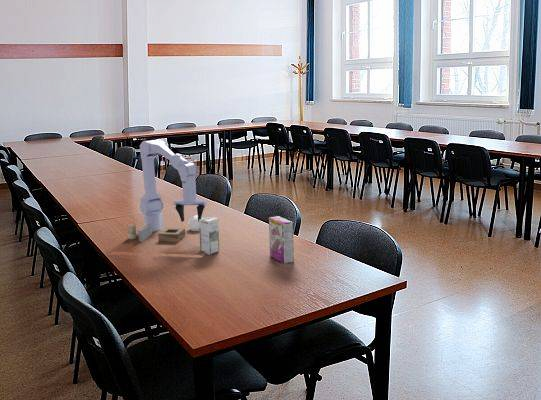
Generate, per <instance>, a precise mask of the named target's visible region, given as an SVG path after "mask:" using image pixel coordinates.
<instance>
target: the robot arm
mask: <svg viewBox="0 0 541 400" xmlns="http://www.w3.org/2000/svg"><path fill="white" fill-rule="evenodd" d="M139 151H140V158H141V165H142V176H143V177H142V178H143V184H144V185H143V186H144V194H143V195H142V196H141V198H140V199H139V200H140V203H139V204H140V205H139V209H140V212H141V213H142V214H143V215H144V223H145V225H144V227H145V226H146V225H148V224H151V228H152V233H153V232H158V231H162V228H163V227H164V217H163V216H164V215H163V214H162V210H163V209H164V202H163V199H162V195H160V194H159V193H158V191H157V184H156V173H155V161H154V160H155V158H156V157H158V156H159V155H161V156H163V157H164V158H165V159H167V160H169V163H170V165H171V166H172V167H173V168H174V169H175V170H177V171H178V174H179V176H180V180H181V184H182V199H175V200H173V202H172V203H173V206H175V210H176V212H177V214H178V215H179V218H180V222H181V223H183V222H184V221H185V214H184V213H185V209H184V208H185V206H196V212H197V215H198V222H199V219H201V217H203V214H204V213H203V212H204V210H205V207H206V206H207V204H208V203H207V200H205V199H204V200H202V199H197V187H196V185H197V183H196V175H197V174H198V172H199V169H198V165H197V164H196V163H195V162H190V161H188V160H187V159H186V158H184V157H183V156H182V154H180V153H174V152H173V151H172V150H171V149H170V148H169V147H168V146H167V145H166V142H165V141H164V140H163V139H161V138H159V139H151V140H143V141H141V143H140V145H139Z"/></svg>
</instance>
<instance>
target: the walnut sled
mask: <svg viewBox="0 0 541 400" xmlns="http://www.w3.org/2000/svg"><path fill="white" fill-rule="evenodd" d="M157 236H158V242H160V243H161V242H162V243H163V242H164V243H179V242H180V241H181V240H183V239H184V238H185V237H186V228H185V227H184V228H183V227H182V228H180V227H165V228H164V229H163V230H160V232H158V234H157Z"/></svg>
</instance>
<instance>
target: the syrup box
mask: <svg viewBox="0 0 541 400" xmlns="http://www.w3.org/2000/svg"><path fill="white" fill-rule="evenodd" d="M219 226H220V225H219V219H218V218H217V217H214V216H207V217H203V219H199V230H200V231H199V247H200V248H199V250H200V251H201V252H203V254H205V255H209V256H210V255H213V254H216V253H219V252H220V238H219V237H220V234H219V233H220V232H219V231H220V229H219V228H220V227H219Z"/></svg>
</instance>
